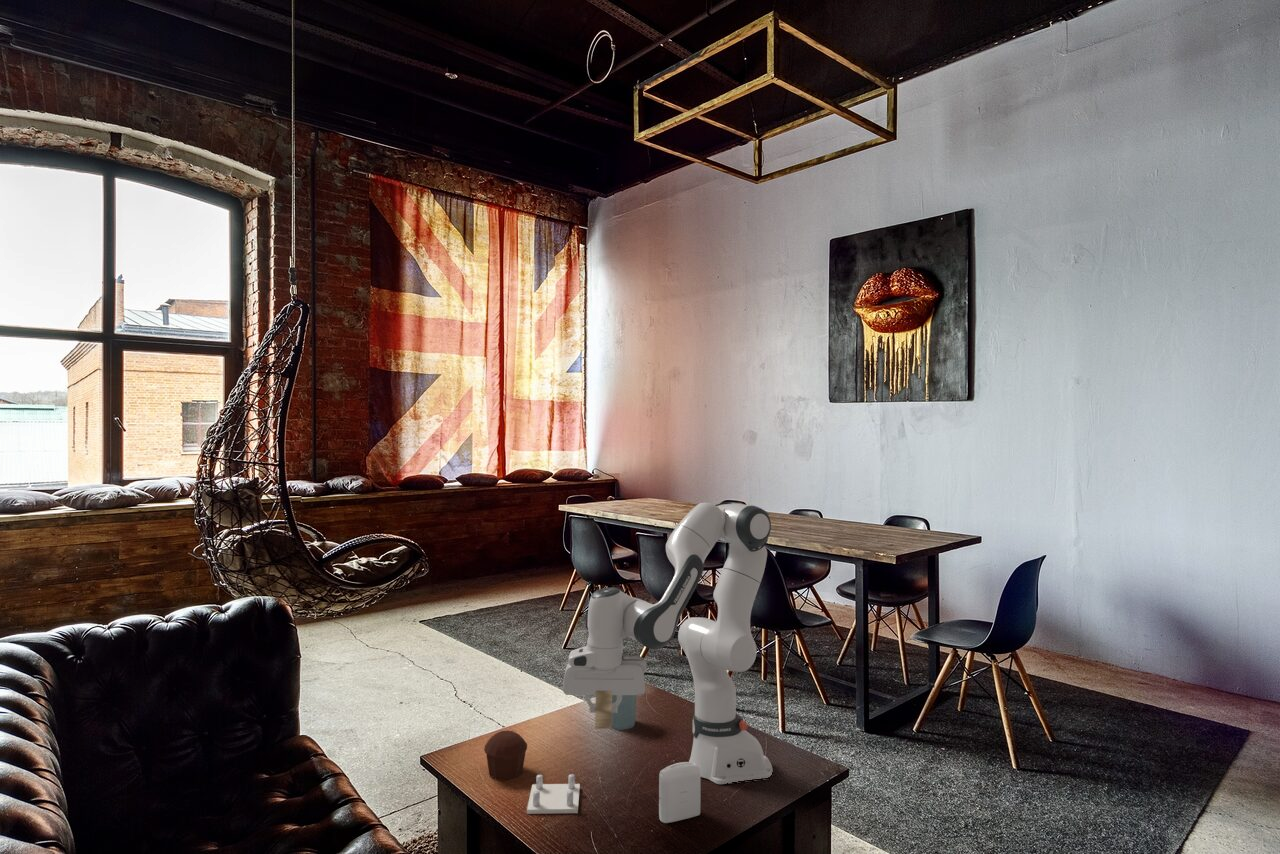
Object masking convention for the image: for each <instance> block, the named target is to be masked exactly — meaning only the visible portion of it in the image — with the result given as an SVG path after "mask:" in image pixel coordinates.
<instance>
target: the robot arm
mask: <svg viewBox="0 0 1280 854" xmlns="http://www.w3.org/2000/svg"><path fill="white" fill-rule="evenodd" d="M769 515H770V514H768V512H767V511H766V510H765V509H763V508H762V507H759V506H757V505H749V504H743V503H727V504H726V503H718V504H714V503H712V502H707V501H706V502H705V501H704V502H700V503H698V504H696V505H695V506H694V507H692V509H690V510H689V512H688V513H687V514H686V515H685V516H684V517H683V518H682V519H681V520H680V522H679V523H678V524H677V525H676V527H675V528H674V529H673V530H672V532H671V533H670V534H669V537H668V539H667V541H666V543H665V553H666V557H667V559H668V560H669V562H670V563H671V565H672V566H673V568H674V575H673V578H672V580H671V581H670V583H669V584H668V586H667V588H666V590H665V592H664V594H663V595H662V597H661V599H660V600H659V601H658V602H655V603H654V604H653V603H650V602H648V601H646V600H643V599H641V598H637V597H633V596H631V595H629V594H626V593H625V592H623V591H622V590H621V589H620V588H617V587H611V586H610V587H603V588H599V589H597V590H595V591H594V592H593V593H592V594H591V596H590V598H589V602H588V608H587V610H588V611H587V625H586V626H587V631H588V638H587V640H586V645H584V646H582V647H579V648H575V649H572V650H571V651H570V652H569V655H568V662H567V664H566V666H565V671H564V675H563V680H562V681H563V682H562V692H563V694H565V695H566V696H584V700H585V702H586V704H587V705H588V706H589V709H588V710H589V714H592V713H593V714H595V706H596V702H592V700H591V699H592V696H596V691H612V695H617V700H616V702H615V703H612V713H617V712H618V705H619V704H620V702H621V701H622V695H636V696H642V695H643V694H644V693H645V692H646V686H645V685H646V684H645V675H644V674H645V673H646V672H647V665H648V664H647V661H646V659H645V658H644V657H641V655H625V654H624V653H623V650H624V649H623V645H624V644H623V643H624V639H626V638H631V640H634V641H636V642H638V643H639V644H641V645H642V646H644V647H645V648H647V649H649V650H653V651H654V650H659V649H662V648H664V647H665V646H667V645H668V644H669V643H670V642H671V641H672V639H673V638H674V635H675V634H676V633H675V632H676V630H677V627H678V623H679V620H680V618H681V616H682V614H683V613H684V610H685V608H686V606H687V605H688V603H689V600H690V599H691V597H692V596H693V593H695V590H696V588H697V587H698V585H699V582H700V580H701V578H702V576H703V572H704V564H705V560H706V558H707V557H708V555H709V554H710V552H711V551H712V549H713V548H714V547H715V545H716V543H717V542H718V541H720V542H724V543H728V546H729V550H728V551H729V552H728V553H729V554H728V556H727V558H726V560H725V562H724V565H723V568H722V570H721V572H720V574H719V577H718V580H717V583H716V585H715V588H714V590H713V594H712V595H713V600H714V602H715V604H716V605H717V617H716V621H715V620H712V619H710V618H707V617H700V616H698V617H696V616H695V617H694V616H693V617H689V618H686V619H685V620H684V621H683V622H682V623H681V624H680V626H679V629H678V634H677V639H678V644H679V645H680V648H682V650H683V652H684V654H685V655H686V656H685V657H686V658H687V661H688V665H689V667H690V671H691V675H692V678H693V685H694V712H693V713H692V714H693V716H692V734H693V741H692V747H691V753H690V757H689V761H688V762H692V763H696V764H697V765H698V766H699V769H700V778H704V779H707V780H709V781H711V782H713V783H715V784H716V785H725V784H726V785H727V783H728V784H733V783H732V782H737V783H739V782H738V781H744V780H752V779H761V778H768V777H770V776H771V775H772V772H774V771H773V766H772V765H773V764H772V763H771V761H770V759H769V758H768V757H767V756H766V755H764V751H763V748H762V745H761V743H760V742H759V740H758V739H757V738H756V736H754V735H752V734H751V733H750V732H748V731H747V729H748V724H747V722H746V721H745V720H744V719H743V717H742V715H740V713H738V712H737V690H736V689H737V688H736V685H735V683H734V681H733V679H732V678H731V677H730V675H729V673H728V671H730V672H738V673H742V672H743V673H744V672H746V671H748V670H749V669H750V668H751V667H752V666H753V665H754V663H755V660H756V657H757V654H758V653H757V644H756V641H755V640H754V638H753V637H754V636H753V634H752V630H751V616H752V610H753V606H754V602H755V599H756V596H757V594H758V591H759V589H760V585H761V582H762V579H763V577H764V573H765V568H766V564H767V558H768V550H767V548H766V545H767V543H768V541H769V538H770V535H771V534H770V533H771V530H772V529H771V528H772V524H771V523H772V522H771V517H770V516H769ZM772 776H773V775H772Z"/></svg>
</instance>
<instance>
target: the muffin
mask: <svg viewBox="0 0 1280 854" xmlns="http://www.w3.org/2000/svg"><path fill="white" fill-rule="evenodd" d="M527 750H528V743H527V742H526V741H525V739H524V738H523V737H522V736H521V735H520V734H519V733H517V732H516V731H513V730H500V731H498V732H496V733H495V734H493V735H492V736H491V737H490V738H489V739H488V740H487V742H486V744H485V745H484V748H483V751H484V752H485V754H486V761H487V767H488V775H490V776H489V777H491V776H493V777H494V778H493V777H492V778H493V779H495V778H496V779H495V780H503V779H504V780H505V781H508V780H510V779H514V778H517V777H519V776H520V775H521V774H523V770H524V763H525V758H526V757H525V756H526V752H527ZM504 780H503V781H504Z"/></svg>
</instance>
